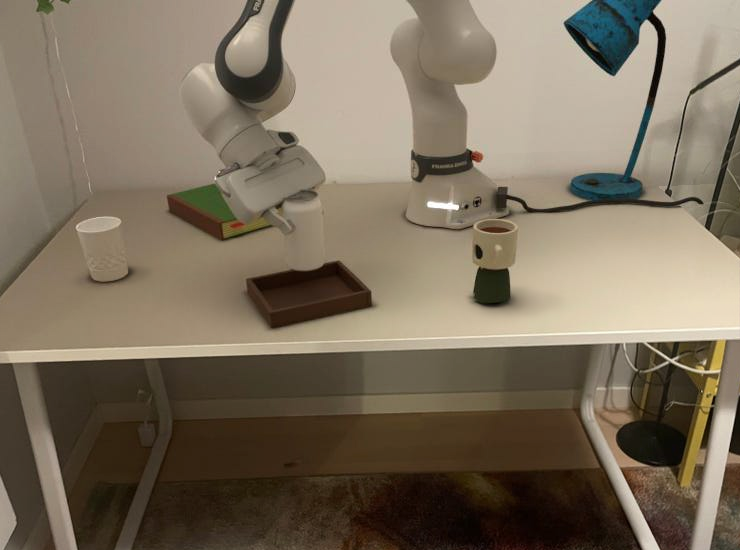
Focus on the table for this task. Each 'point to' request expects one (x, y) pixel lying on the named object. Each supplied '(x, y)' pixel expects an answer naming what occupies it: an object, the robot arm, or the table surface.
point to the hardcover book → (211, 212)
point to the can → (304, 231)
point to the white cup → (103, 248)
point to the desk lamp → (610, 51)
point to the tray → (307, 294)
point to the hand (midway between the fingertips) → (305, 224)
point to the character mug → (493, 258)
